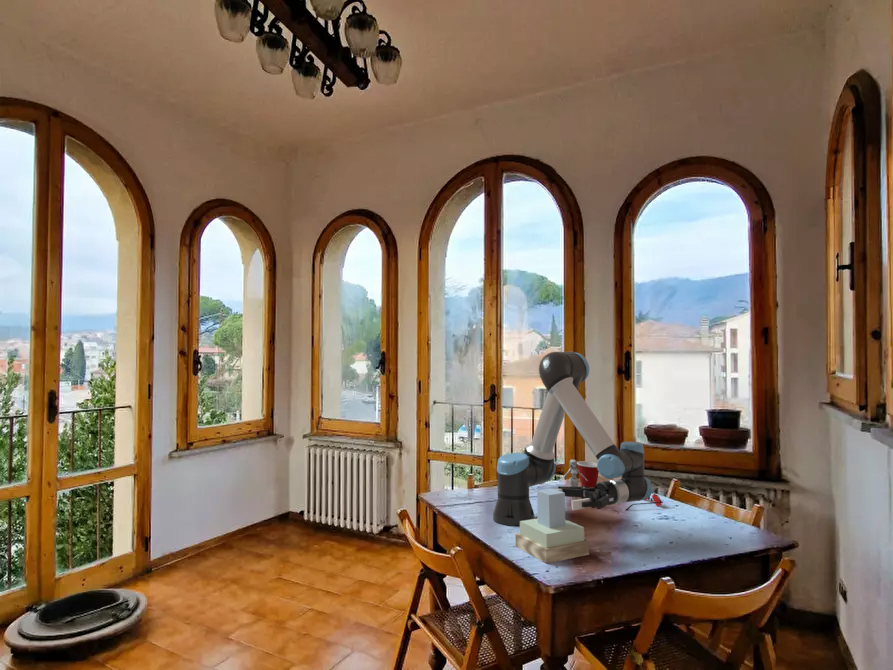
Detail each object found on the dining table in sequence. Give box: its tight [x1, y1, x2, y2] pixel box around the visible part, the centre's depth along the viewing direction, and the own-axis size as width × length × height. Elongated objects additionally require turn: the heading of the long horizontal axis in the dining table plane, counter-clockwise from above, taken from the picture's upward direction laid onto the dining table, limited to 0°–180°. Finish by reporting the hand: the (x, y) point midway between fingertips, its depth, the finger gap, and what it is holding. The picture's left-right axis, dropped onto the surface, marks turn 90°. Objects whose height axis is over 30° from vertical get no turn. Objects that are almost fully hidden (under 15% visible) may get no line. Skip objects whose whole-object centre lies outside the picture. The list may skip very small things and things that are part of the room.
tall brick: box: [536, 488, 566, 528], centre depth 168 cm, size 6×6×10 cm
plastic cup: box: [576, 460, 600, 488], centre depth 243 cm, size 11×11×12 cm
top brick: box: [519, 517, 585, 548], centre depth 168 cm, size 14×14×4 cm
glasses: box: [625, 492, 664, 511], centre depth 219 cm, size 14×16×5 cm
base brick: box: [515, 532, 590, 564], centre depth 168 cm, size 16×16×4 cm
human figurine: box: [559, 459, 588, 501], centre depth 220 cm, size 12×4×18 cm, turn 97°
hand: (558, 500), depth 169 cm, fingers open, 13 cm apart
